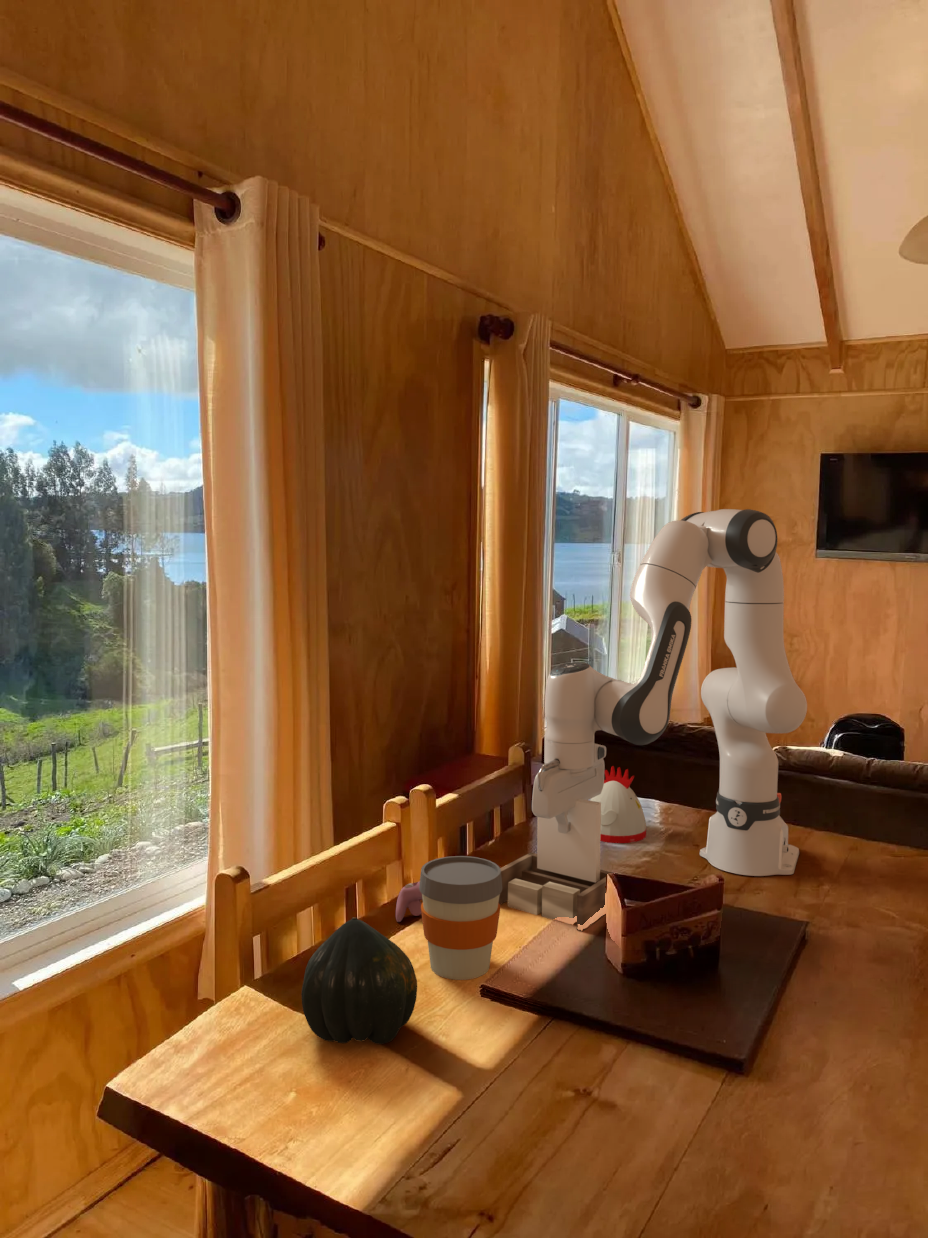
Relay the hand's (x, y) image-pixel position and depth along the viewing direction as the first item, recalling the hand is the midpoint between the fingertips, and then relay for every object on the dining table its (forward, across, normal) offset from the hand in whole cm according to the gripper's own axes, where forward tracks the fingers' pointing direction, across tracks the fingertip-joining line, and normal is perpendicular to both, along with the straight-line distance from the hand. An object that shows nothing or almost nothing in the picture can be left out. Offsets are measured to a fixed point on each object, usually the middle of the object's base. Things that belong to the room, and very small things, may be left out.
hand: (568, 830), depth 165 cm
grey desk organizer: (+13, -4, 0) cm, 13 cm away
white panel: (+8, 0, 0) cm, 8 cm away
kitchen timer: (+13, +39, +10) cm, 43 cm away
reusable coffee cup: (+13, -33, 0) cm, 35 cm away
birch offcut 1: (+13, -8, +4) cm, 16 cm away
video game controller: (+13, -22, +16) cm, 30 cm away
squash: (+12, -56, 0) cm, 57 cm away
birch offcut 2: (+13, -8, -3) cm, 16 cm away
